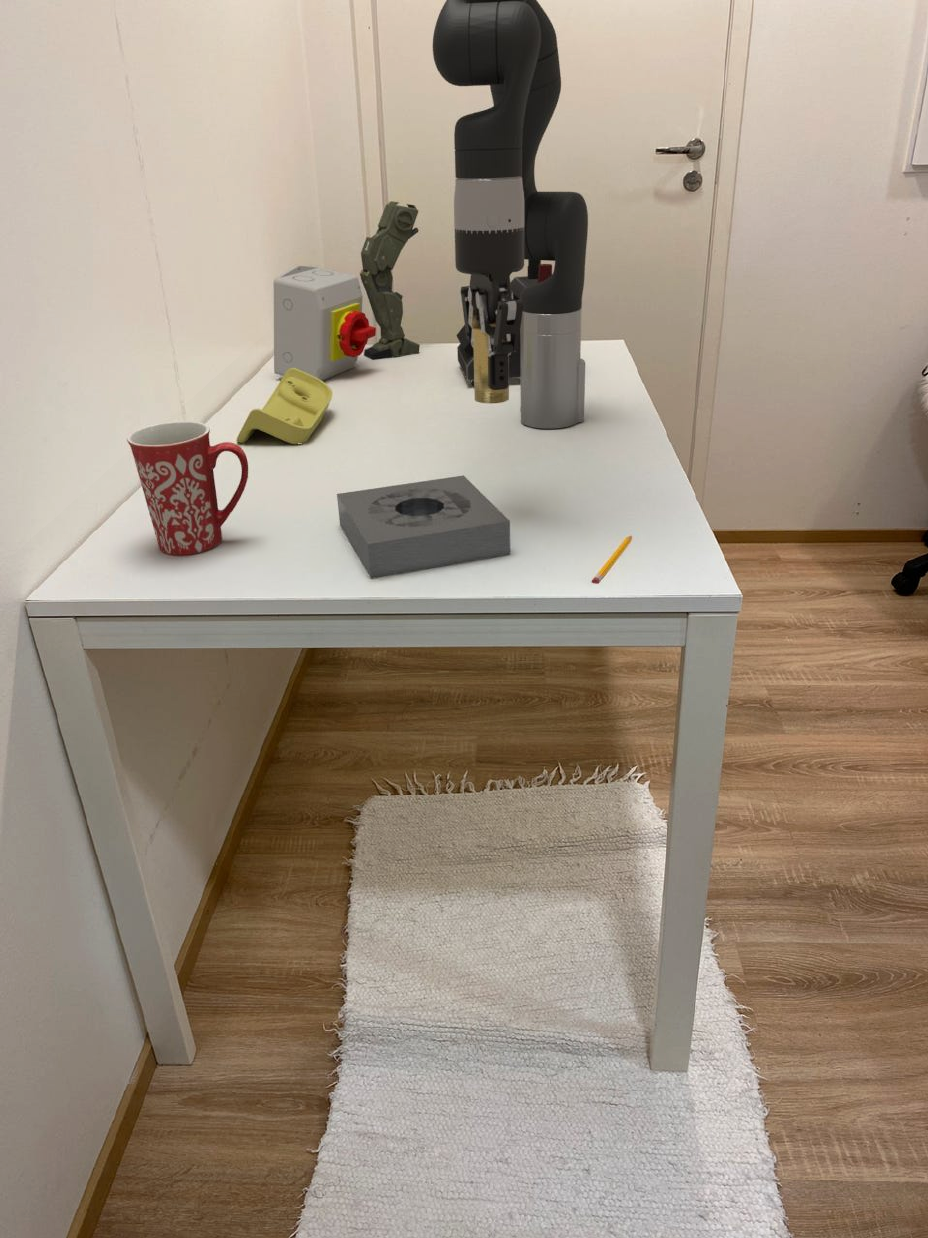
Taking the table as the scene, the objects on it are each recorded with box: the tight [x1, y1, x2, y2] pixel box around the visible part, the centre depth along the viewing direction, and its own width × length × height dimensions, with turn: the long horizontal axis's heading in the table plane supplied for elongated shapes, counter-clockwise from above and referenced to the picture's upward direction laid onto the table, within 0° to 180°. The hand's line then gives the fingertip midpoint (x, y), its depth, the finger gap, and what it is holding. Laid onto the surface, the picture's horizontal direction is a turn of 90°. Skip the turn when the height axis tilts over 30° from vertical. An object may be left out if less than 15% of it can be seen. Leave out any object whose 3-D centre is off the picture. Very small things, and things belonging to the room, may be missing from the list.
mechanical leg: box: [359, 201, 421, 361], centre depth 188 cm, size 14×7×30 cm, turn 117°
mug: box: [126, 420, 249, 556], centre depth 107 cm, size 13×9×14 cm
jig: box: [336, 475, 511, 579], centre depth 108 cm, size 16×16×4 cm
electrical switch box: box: [273, 264, 377, 382], centre depth 176 cm, size 15×15×20 cm
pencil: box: [591, 534, 633, 584], centre depth 103 cm, size 1×13×1 cm, turn 155°
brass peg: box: [473, 325, 510, 405], centre depth 107 cm, size 4×4×8 cm
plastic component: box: [236, 368, 333, 445], centre depth 150 cm, size 20×7×10 cm
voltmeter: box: [456, 260, 553, 387], centre depth 171 cm, size 16×16×20 cm
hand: (491, 383), depth 108 cm, fingers closed on brass peg, 4 cm apart
